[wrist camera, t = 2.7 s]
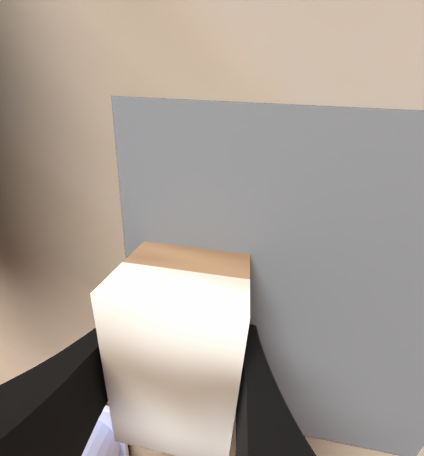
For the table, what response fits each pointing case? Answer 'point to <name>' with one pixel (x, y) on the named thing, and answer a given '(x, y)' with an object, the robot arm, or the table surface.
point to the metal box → (174, 346)
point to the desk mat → (300, 243)
